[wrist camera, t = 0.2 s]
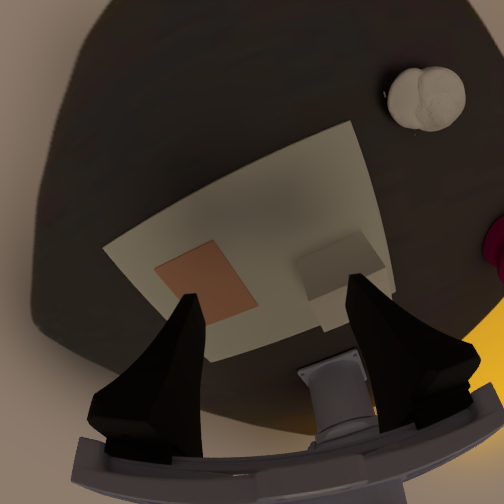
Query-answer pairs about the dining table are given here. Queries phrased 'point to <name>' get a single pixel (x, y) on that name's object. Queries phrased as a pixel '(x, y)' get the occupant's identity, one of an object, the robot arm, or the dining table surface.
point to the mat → (262, 234)
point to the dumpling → (426, 98)
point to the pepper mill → (495, 247)
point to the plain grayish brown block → (339, 277)
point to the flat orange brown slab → (208, 282)
